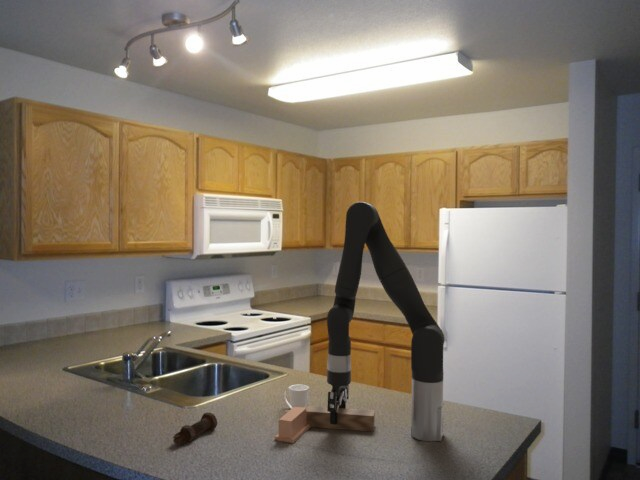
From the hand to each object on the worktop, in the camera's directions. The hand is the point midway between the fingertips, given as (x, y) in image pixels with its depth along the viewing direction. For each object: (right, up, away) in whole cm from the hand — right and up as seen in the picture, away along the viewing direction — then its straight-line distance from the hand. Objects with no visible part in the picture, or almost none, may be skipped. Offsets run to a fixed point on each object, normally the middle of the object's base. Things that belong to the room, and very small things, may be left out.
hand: (338, 419), depth 166 cm
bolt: (-43, -2, -10) cm, 44 cm away
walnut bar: (0, -2, 0) cm, 2 cm away
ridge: (-14, -2, -7) cm, 15 cm away
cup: (-14, -2, +14) cm, 20 cm away
